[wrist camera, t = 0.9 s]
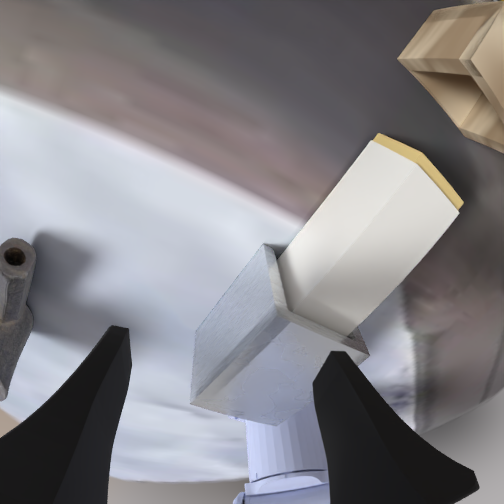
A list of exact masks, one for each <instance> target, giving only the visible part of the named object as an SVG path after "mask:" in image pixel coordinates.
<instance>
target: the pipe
mask: <svg viewBox="0 0 504 504" xmlns="http://www.w3.org/2000/svg"><path fill="white" fill-rule="evenodd" d="M35 265H36V253H35V250H34V247H32V246H31V245H30V244H28V243H27V242H26V241H24V240H22V239H18V238H11V239H8V240H7V241H5V242H4V243H3V244H2V245H1V246H0V401H3V400H4V399H6V397H7V395H8V389H9V386H10V382H11V379H12V376H13V373H14V370H15V367H16V365H17V362H18V359H19V357H20V355H21V352H22V350H23V348H24V346H25V344H26V341H27V339H28V338H29V335H30V333H31V330H32V326H33V315H32V313H31V311H30V310H29V308H28V307H27V305H26V301H27V297H28V294H29V290H30V286H31V281H32V277H33V273H34V269H35Z"/></svg>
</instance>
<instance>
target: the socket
mask: <svg viewBox="0 0 504 504" xmlns="http://www.w3.org/2000/svg"><path fill="white" fill-rule="evenodd" d="M397 60H398V61H399V62H400V63H401V64H402V65H403V66H404V67H405V68H406V69H407V70H408V71H409V72H410V73H411V74H412V75H413V76H414V77H415V78H416V79H417V80H418V81H419V82H420V83H421V84H422V85H423V86H424V88H425V89H426V90H427V91H428V92H429V93H430V94H431V95H432V97H433V98H434V99H435V100H436V101H437V102H438V104H439V105H440V106H441V107H442V108H443V110H444V111H445V112H446V113H447V114H448V116H449V117H450V118H451V120H452V121H453V122H454V123H455V125H456V126H457V127H458V129H459V130H460V131H461V133H462V134H463V135H464V137H466V138H469V139H471V140H474V141H476V142H479V143H481V144H484V145H486V146H488V147H490V148H493V149H495V150H497V151H499V152H502V153H504V1H496V2H485V3H476V4H469V5H462V6H455V7H449V8H444V9H438V10H434V11H433V12H432V13H431V15H430V16H429V17H428V19H427V20H426V21H425V23H424V24H423V25H422V27H421V28H420V29H419V31H418V32H417V33H416V35H415V36H414V37H413V38H412V40H411V41H410V42H409V44H408V45H407V46H406V48H405V49H404V50H403V52H402V53H401V54H400V56H399V57H398V58H397Z"/></svg>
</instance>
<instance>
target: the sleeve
mask: <svg viewBox="0 0 504 504" xmlns="http://www.w3.org/2000/svg"><path fill="white" fill-rule="evenodd" d="M331 351H346V352H347V354H348V355H349V356H350V357H351V359H352V360H353V361H354V363H355V364H356V365H357V366H359V365H360V364H361V363H362V362H363V361H364V360H366V359H367V358H368V357H369V356H370V354H369V352H368V350H367V347H366V345H365V343H364V340H363V338H362V336H361V333H360V331H359V329H358V327H356V328H355V329H354V330H353V331H352V332H351V333H350V334H349V335H348V336H347V337H345V336H343V335H341V334H339V333H336V332H334V331H332V330H330V329H328V328H325V327H323V326H321V325H319V324H317V323H314V322H312V321H310V320H308V319H306V318H304V317H301V316H299V315H297V314H295V313H293V312H291V311H289V310H288V307H287V303H286V299H285V295H284V290H283V286H282V282H281V278H280V274H279V269H278V265H277V261H276V257H275V253H274V249H272V248H270V247H269V246H267V245H265V244H262V245H261V247H260V248H259V249H258V251H257V252H256V253H255V255H254V256H253V257H252V259H251V260H250V261H249V262H248V264H247V265H246V266H245V268H244V269H243V270H242V272H241V273H240V274H239V276H238V277H237V278H236V279H235V281H234V282H233V283H232V285H231V286H230V287H229V289H228V290H227V291H226V292H225V294H224V295H223V296H222V298H221V299H220V300H219V302H218V303H217V304H216V305H215V307H214V308H213V309H212V311H211V312H210V313H209V315H208V316H207V317H206V319H205V320H204V321H203V322H202V324H201V325H200V326H199V328H198V329H197V330H196V335H195V345H194V356H193V368H192V381H191V394H190V404H191V405H195V406H198V407H201V408H204V409H208V410H211V411H215V412H218V413H222V414H225V415H229V416H233V417H237V418H241V419H245V420H249V421H253V422H257V423H262V424H266V425H271V426H278V425H279V424H281V423H282V422H284V421H285V420H287V419H288V418H290V417H291V416H293V415H294V414H296V413H297V412H298V411H300V410H301V409H303V408H304V407H306V406H307V405H308V404H310V403H311V402H312V401H314V397H313V386H312V383H313V381H314V379H315V378H316V376H317V374H318V372H319V371H320V369H321V367H322V366H323V364H324V362H325V360H326V359H327V357H328V355H329V353H330V352H331Z"/></svg>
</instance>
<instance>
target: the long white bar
mask: <svg viewBox="0 0 504 504" xmlns="http://www.w3.org/2000/svg"><path fill="white" fill-rule="evenodd" d="M463 203H464V202H463V201H462V199H461V198H460V197H459V195H458V194H457V193H456V192H455V190H454V189H453V188H452V187H451V185H450V184H449V183H448V182H447V181H446V179H445V178H444V177H443V176H442V175H441V173H440V172H439V171H438V170H437V169H436V168H435V166H434V165H433V164H432V163H431V162H430V161H429V160H428V159H427V157H426V156H425V155H424V154H423V153H422V152H420V151H418V150H416V149H413V148H411V147H409V146H407V145H405V144H403V143H401V142H398V141H396V140H394V139H392V138H389V137H387V136H385V135H382V134H380V133H378V134H377V136H376V137H375V138H374V140H373V141H372V140H371V141H370V142H369V144H368V145H367V146H366V148H365V149H364V150H363V151H362V153H361V154H360V155H359V157H358V158H357V159H356V161H355V162H354V163H353V164H352V166H351V167H350V168H349V170H348V171H347V172H346V174H345V175H344V176H343V177H342V179H341V180H340V181H339V183H338V184H337V185H336V186H335V188H334V189H333V190H332V192H331V193H330V194H329V195H328V197H327V198H326V199H325V200H324V202H323V203H322V204H321V206H320V207H319V208H318V209H317V211H316V212H315V213H314V214H313V216H312V217H311V218H310V219H309V221H308V222H307V223H306V225H305V226H304V227H303V228H302V230H301V231H300V232H299V233H298V235H297V236H296V237H295V238H294V240H293V241H292V242H291V243H290V245H289V246H288V247H287V248H286V250H285V251H284V252H283V253H282V254H281V256H280V257H279V258H278V259H277V265H278V269H279V274H280V278H281V282H282V286H283V290H284V295H285V299H286V303H287V307H288V310H289V311H291V312H293V313H295V314H297V315H299V316H301V317H304V318H306V319H308V320H310V321H312V322H314V323H317V324H319V325H321V326H323V327H325V328H328V329H330V330H332V331H334V332H336V333H339V334H341V335H343V336H345V337H347V336H348V335H349V334H350V333H351V332H352V331H353V330H354V329H355V328H356V327H357V326H358V325H359V324H360V323H361V322H363V321H364V320H365V319H366V318H367V317H368V316H369V315H370V314H371V313H372V312H373V311H374V310H375V309H376V308H377V307H378V306H379V305H380V304H381V303H382V302H383V301H384V300H385V299H386V298H387V296H388V295H389V294H390V293H391V292H392V291H393V290H394V289H395V288H396V287H397V286H398V285H399V284H400V283H401V282H402V281H403V280H404V278H405V277H406V276H407V275H408V274H409V273H410V272H411V271H412V270H413V268H414V267H415V266H416V265H417V264H418V263H419V262H420V261H421V259H422V258H423V257H424V256H425V255H426V254H427V253H428V251H429V250H430V249H431V248H432V247H433V245H434V244H435V243H436V242H437V241H438V239H439V238H440V237H441V236H442V235H443V233H444V232H445V231H446V230H447V228H448V227H449V226H450V225H451V223H452V222H453V221H454V220H455V218H456V217H457V216H458V214H459V212H458V210H459V209H460V207H461V206H462V205H463Z"/></svg>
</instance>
